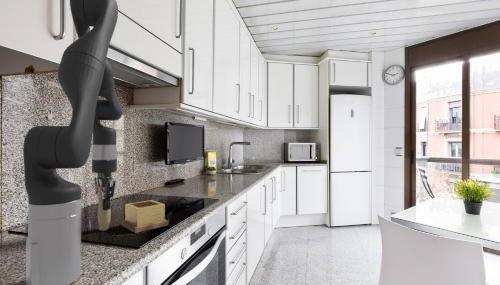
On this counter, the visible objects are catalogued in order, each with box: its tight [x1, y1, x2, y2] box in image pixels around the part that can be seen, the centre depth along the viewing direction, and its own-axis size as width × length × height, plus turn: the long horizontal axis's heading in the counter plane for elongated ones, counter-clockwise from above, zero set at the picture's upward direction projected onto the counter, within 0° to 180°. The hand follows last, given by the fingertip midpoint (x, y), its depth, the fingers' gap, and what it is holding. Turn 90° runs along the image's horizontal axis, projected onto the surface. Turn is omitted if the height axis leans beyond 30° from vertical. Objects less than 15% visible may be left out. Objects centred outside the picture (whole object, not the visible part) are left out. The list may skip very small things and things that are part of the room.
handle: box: [94, 184, 112, 231], centre depth 91 cm, size 5×6×15 cm
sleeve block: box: [120, 199, 169, 234], centre depth 96 cm, size 12×12×8 cm
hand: (104, 208), depth 91 cm, fingers closed on handle, 3 cm apart
